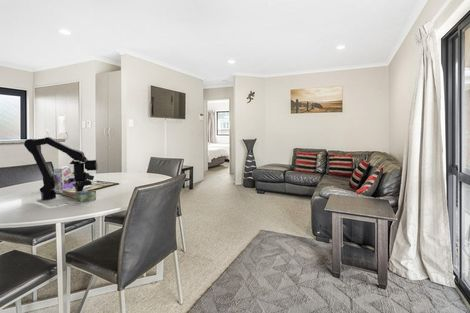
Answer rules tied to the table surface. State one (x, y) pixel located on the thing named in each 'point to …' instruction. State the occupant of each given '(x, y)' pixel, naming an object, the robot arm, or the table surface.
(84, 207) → the table surface
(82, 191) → the block
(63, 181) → the candy box
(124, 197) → the table surface
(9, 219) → the table surface
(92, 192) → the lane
